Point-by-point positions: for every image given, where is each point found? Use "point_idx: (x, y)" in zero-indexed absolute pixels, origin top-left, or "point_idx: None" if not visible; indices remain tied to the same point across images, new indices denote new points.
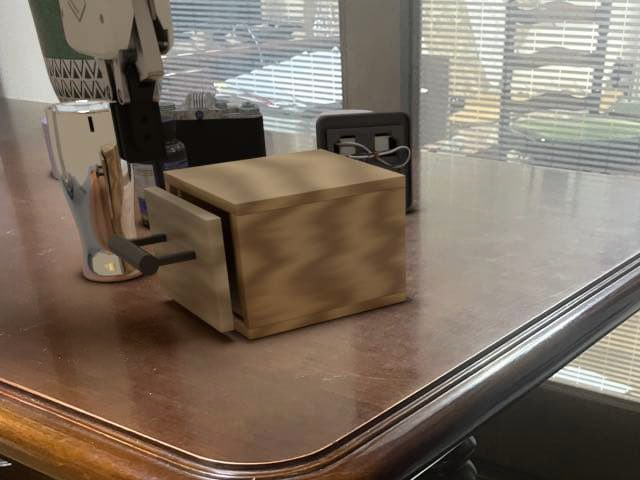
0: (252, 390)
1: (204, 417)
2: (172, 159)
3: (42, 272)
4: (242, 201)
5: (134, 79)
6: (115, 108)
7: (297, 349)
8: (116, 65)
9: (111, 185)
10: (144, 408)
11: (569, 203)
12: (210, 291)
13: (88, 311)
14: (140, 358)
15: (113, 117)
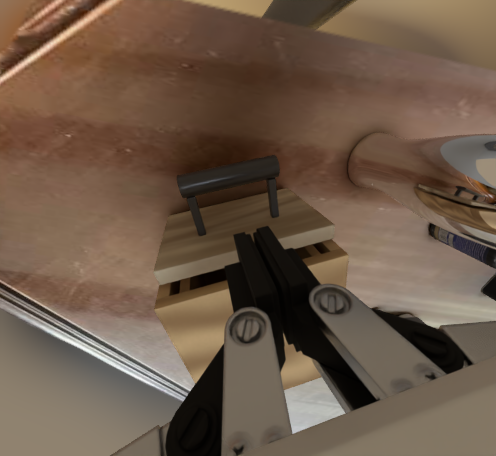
0: (62, 215)
1: (4, 169)
2: (486, 254)
3: (417, 94)
4: (163, 316)
5: (173, 420)
6: (267, 287)
7: (142, 256)
8: (253, 429)
9: (412, 192)
10: (31, 122)
11: (314, 401)
12: (176, 227)
13: (294, 118)
14: (159, 143)
15: (283, 265)
